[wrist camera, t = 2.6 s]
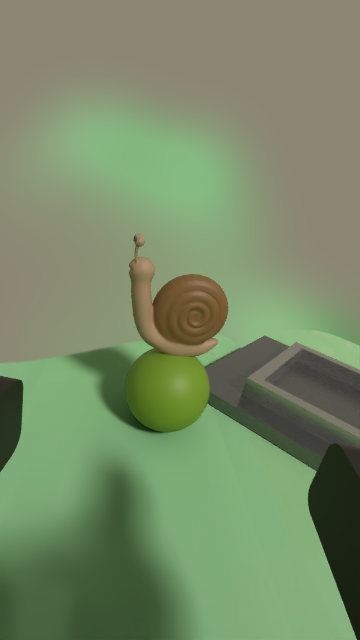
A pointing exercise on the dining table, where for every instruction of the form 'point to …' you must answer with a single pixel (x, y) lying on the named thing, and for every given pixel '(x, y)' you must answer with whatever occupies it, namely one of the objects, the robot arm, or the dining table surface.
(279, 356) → the tray
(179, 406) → the snail figurine
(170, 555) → the dining table surface
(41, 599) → the dining table surface
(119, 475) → the dining table surface
